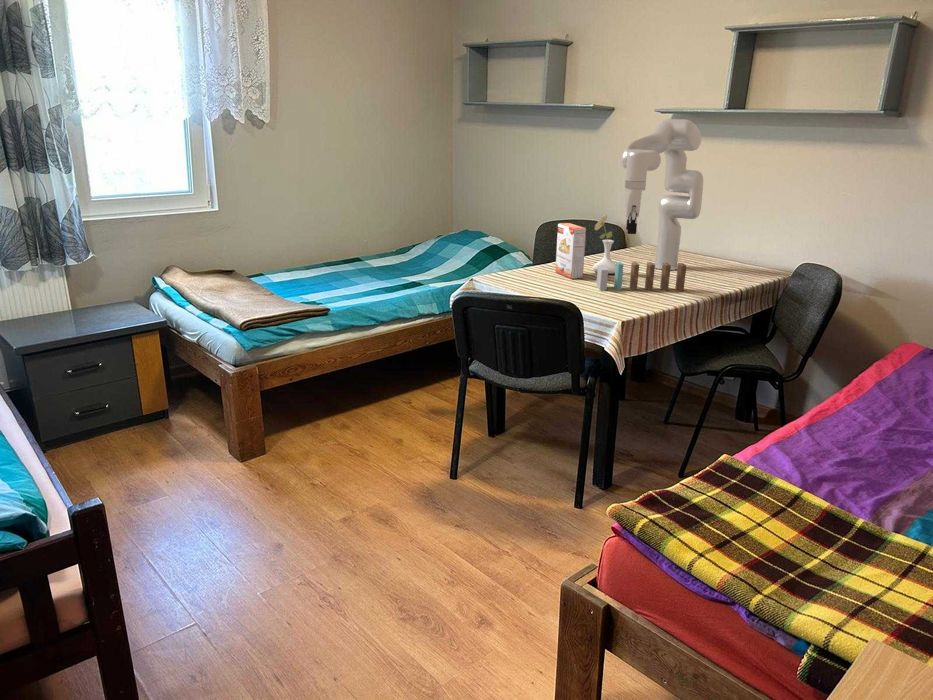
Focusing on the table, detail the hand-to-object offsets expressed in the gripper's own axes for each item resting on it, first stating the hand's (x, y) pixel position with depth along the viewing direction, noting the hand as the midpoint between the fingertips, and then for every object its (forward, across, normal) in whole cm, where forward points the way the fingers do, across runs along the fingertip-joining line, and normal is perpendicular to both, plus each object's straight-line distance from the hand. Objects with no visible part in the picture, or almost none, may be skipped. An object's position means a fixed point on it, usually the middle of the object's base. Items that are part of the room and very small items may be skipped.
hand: (631, 231), depth 270 cm
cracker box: (+22, -18, -23) cm, 37 cm away
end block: (+22, +2, -9) cm, 24 cm away
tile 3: (+22, -1, +9) cm, 24 cm away
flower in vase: (+22, -27, -8) cm, 36 cm away
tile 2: (+22, -2, +15) cm, 27 cm away
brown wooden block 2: (+22, -3, +20) cm, 30 cm away
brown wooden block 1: (+22, 0, +3) cm, 22 cm away
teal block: (+22, +1, -3) cm, 22 cm away
